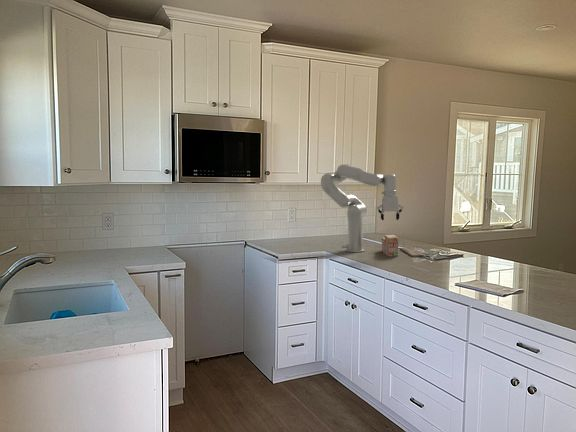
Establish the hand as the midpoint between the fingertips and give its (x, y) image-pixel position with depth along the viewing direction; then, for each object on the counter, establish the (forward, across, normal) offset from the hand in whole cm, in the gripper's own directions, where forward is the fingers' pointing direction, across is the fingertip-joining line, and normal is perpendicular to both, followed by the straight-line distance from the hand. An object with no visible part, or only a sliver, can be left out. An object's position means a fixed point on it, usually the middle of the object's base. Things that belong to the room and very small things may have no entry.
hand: (389, 219), depth 301 cm
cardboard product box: (+23, 0, +1) cm, 23 cm away
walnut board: (+22, +17, 0) cm, 28 cm away
